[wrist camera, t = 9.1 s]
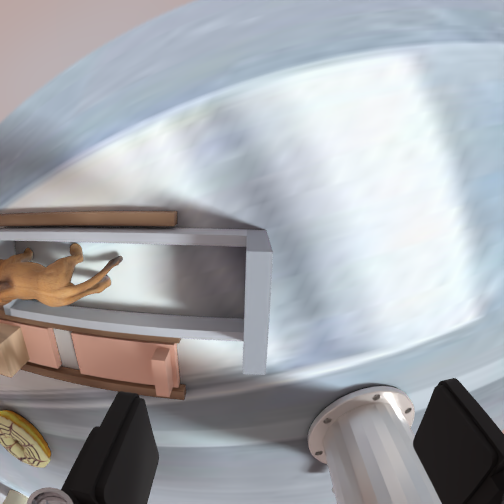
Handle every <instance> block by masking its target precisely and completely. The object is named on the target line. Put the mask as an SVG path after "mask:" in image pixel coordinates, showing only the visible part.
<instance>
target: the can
mask: <svg viewBox="0 0 504 504" xmlns="http://www.w3.org/2000/svg"><path fill="white" fill-rule="evenodd" d="M27 500H28V498H27V497H25V496H24V495H22V494H21V493H19V492H17V491H14V490H9V493H8V495H7V497H6V499H5V500H4V502H3V504H27Z"/></svg>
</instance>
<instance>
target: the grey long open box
mask: <svg viewBox="0 0 504 504" xmlns="http://www.w3.org/2000/svg"><path fill="white" fill-rule="evenodd" d="M14 241H55V242H95V243H133V244H169V245H203V246H235V247H246V274H245V308H244V318H219V317H198V316H180V315H165V314H151V313H138V312H127V311H116V310H105V309H96V308H86V307H78V306H69V305H65V306H60V307H50V306H47V305H45V304H43V303H41V302H38V301H31V300H24V299H14V300H12V301H11V302H10V303H8V304H6V305H4V306H3V307H4V311H5V315H10V316H15V317H20V318H26V319H31V320H36V321H42V322H48V323H54V324H60V325H67V326H74V327H81V328H88V329H95V330H103V331H111V332H120V333H129V334H139V335H150V336H161V337H174V338H188V339H205V340H225V341H244V345H243V374H263V375H265V373H266V359H267V344H268V329H269V313H270V296H271V279H272V261H273V251H272V247H271V244H270V241H269V237H268V234H267V231H266V230H248V229H214V228H171V227H89V226H41V227H4V228H1V229H0V259H3V260H5V259H8V258H9V257H11V256H13V255H16V251H15V243H14Z"/></svg>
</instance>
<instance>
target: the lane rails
mask: <svg viewBox="0 0 504 504" xmlns="http://www.w3.org/2000/svg"><path fill="white" fill-rule="evenodd" d="M176 224H177V211H83V212H42V213H15V214H0V226H47V225H98V226H175V225H176ZM0 318H3V319H8V320H13V321H18V322H22V323H28V324H33V325H38V326H44V327H49V328H55V329H61V330H67V331H74V332H80V333H87V334H94V335H102V336H110V337H118V338H127V339H136V340H146V341H156V342H168V343H179V342H180V339H181V338H174V337H161V336H150V335H139V334H129V333H120V332H111V331H103V330H95V329H88V328H81V327H74V326H67V325H60V324H54V323H48V322H42V321H36V320H31V319H26V318H20V317H15V316H10V315H5V311H4V307H3V306H1V307H0ZM21 370H25V371H28V372H32V373H35V374H39V375H43V376H47V377H50V378H54V379H59V380H63V381H67V382H71V383H76V384H81V385H85V386H90V387H95V388H101V389H106V390H112V391H118V392H120V391H123V392H130V393H137V394H138V395H144V396H152V397H160V398H169V399H179V400H184V399H185V395H186V386H185V385H182V384H179V387H178V388H176V387H173V388H172V391H171V394H170V397H163V396H157V395H156V389H155V385H148V384H140V383H133V382H126V381H120V380H113V379H107V378H101V377H96V376H90V375H85V374H81V372H80V370H76V369H71V368H67V367H62V366H60V367H59V368H58V369H57V368H52V367H48V366H44V365H40V364H36V363H32V362H27V363H26V364H25V365H24V366H23V367H22V368H21Z"/></svg>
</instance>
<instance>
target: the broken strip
mask: <svg viewBox="0 0 504 504" xmlns="http://www.w3.org/2000/svg"><path fill="white" fill-rule="evenodd" d="M0 323H4V324H8V325H13V326H17V327H21V330H22V334H23V338H24V341H25V345H26V348H27V351H28V355H29V358H30V360H29V361H28V362H32V363H36V364H40V365H44V366H48V367H52V368H57V369H58V368H59V367H60V366H61V365H62V362H61V359H60V355H59V351H58V347H57V343H56V339H55V335H54V331H53V328H49V327H44V326H38V325H33V324H28V323H22V322H18V321H13V320H8V319H3V318H0ZM71 336H72V340H73V344H74V349H75V353H76V357H77V361H78V365H79V369H80V372H81V374H85V375H90V376H96V377H101V378H107V379H113V380H120V381H126V382H133V383H140V384H148V385H155V389H156V395H157V396H163V397H170V394H171V391H172V388H173V387H176V388H178V387H179V384H180V376H179V365H178V354H177V343H168V342H156V341H146V340H136V339H127V338H118V337H110V336H102V335H94V334H87V333H80V332H74V331H73V332H72V333H71Z"/></svg>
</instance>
